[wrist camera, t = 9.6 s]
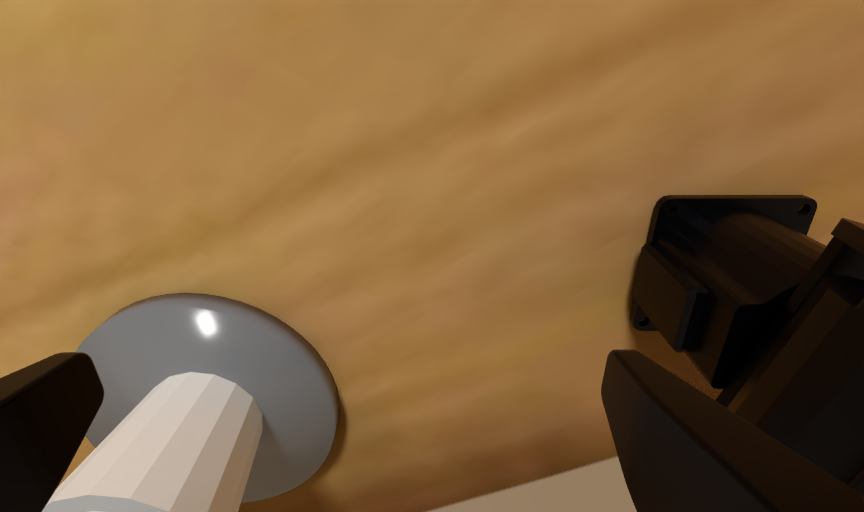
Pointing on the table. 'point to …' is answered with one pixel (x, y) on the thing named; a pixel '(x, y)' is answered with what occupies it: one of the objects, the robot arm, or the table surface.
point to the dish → (230, 359)
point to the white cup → (171, 452)
